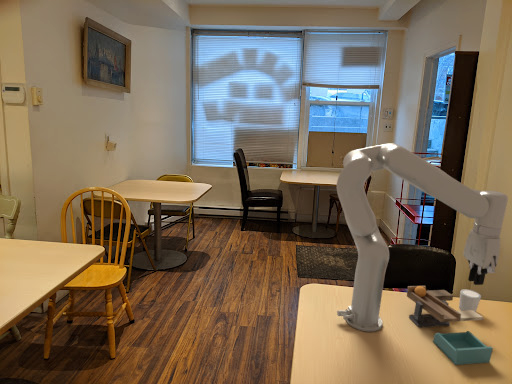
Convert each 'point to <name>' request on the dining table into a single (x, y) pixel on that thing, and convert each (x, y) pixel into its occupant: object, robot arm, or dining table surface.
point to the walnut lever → (441, 306)
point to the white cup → (469, 300)
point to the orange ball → (420, 291)
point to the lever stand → (426, 317)
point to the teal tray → (463, 348)
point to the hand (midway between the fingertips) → (475, 282)
